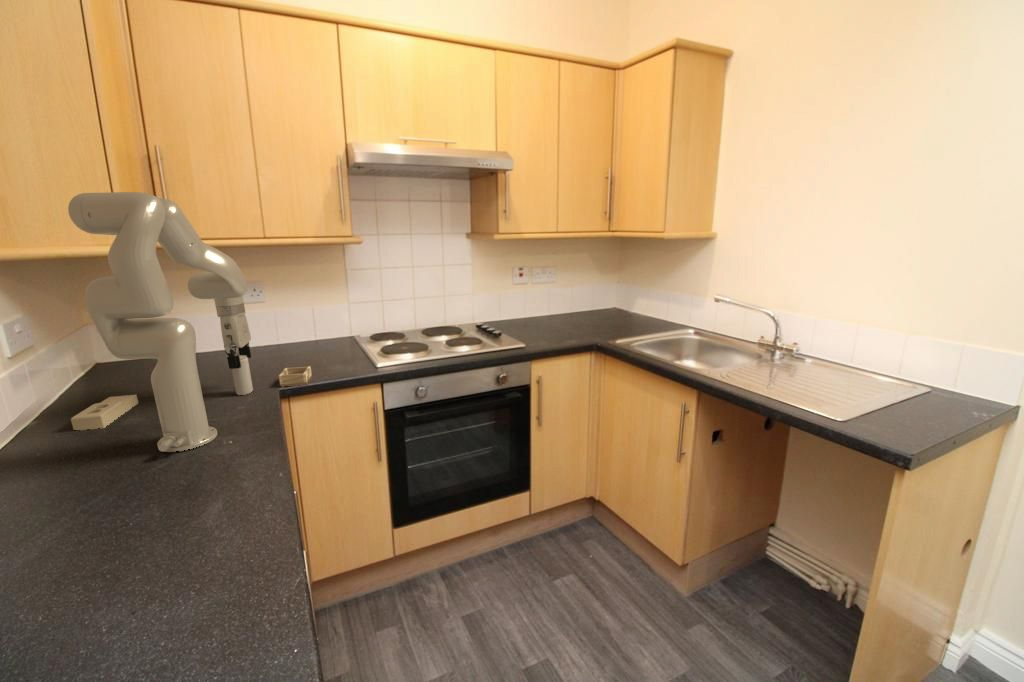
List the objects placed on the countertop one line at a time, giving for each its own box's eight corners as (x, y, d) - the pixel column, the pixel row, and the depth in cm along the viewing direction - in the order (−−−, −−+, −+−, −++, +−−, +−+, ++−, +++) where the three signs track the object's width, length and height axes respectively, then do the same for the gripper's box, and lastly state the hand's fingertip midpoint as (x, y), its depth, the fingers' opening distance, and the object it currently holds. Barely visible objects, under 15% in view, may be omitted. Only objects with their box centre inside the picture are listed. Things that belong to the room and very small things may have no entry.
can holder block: (307, 385, 159) (305, 373, 158) (280, 387, 158) (278, 375, 157) (312, 377, 167) (310, 366, 166) (286, 379, 166) (285, 368, 165)
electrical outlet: (135, 391, 146) (101, 415, 129) (138, 404, 147) (104, 429, 130) (108, 394, 144) (69, 418, 127) (111, 406, 145) (73, 432, 128)
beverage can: (232, 395, 152) (226, 358, 149) (246, 389, 156) (239, 354, 153) (243, 396, 150) (237, 360, 147) (256, 391, 155) (251, 355, 151)
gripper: (234, 315, 139) (244, 371, 144) (253, 303, 155) (261, 353, 160) (205, 317, 138) (217, 373, 143) (227, 304, 154) (237, 355, 159)
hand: (240, 363), depth 151 cm, fingers open, 9 cm apart
